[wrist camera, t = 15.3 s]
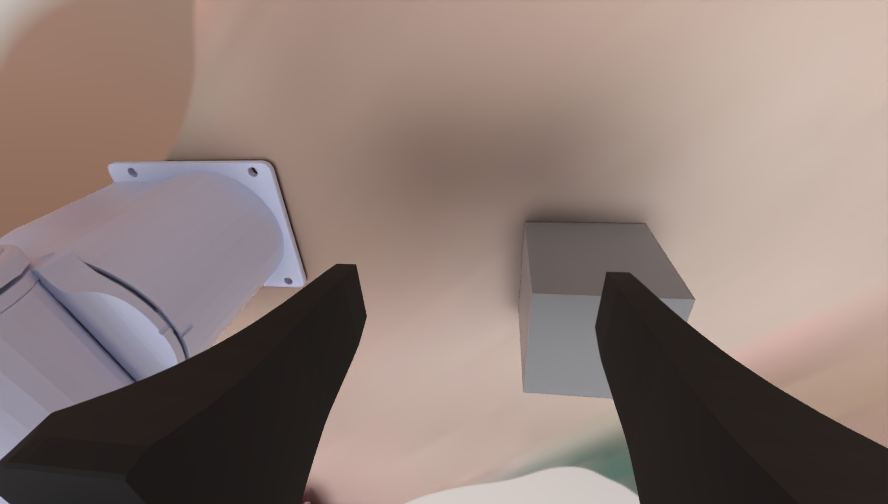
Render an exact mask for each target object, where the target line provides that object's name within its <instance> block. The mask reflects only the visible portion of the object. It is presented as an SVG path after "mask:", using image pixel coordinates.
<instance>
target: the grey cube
mask: <svg viewBox="0 0 888 504" xmlns="http://www.w3.org/2000/svg"><path fill="white" fill-rule="evenodd" d="M606 272H630V273H631V274H632V275H633V276H635V277H636V278H637V279H638V280H639V281H640V282H641V283H643V284H644V285H645V286H646V287H647V288H648V289H649V290H650V291H651V292H652V293H654V294H655V295H656V296H657V297H658V298H659V299H660V300H661V301H662V302H664V303H665V304H666V305H667V306H668V307H669V308H670V309H671V310H673V311H674V312H675V313H676V314H677V315H678V316H680V317H681V318H682V319H683V320H684V321H685V322H687V320H688V318H689V315H690V312H691V310H692V307H693V304H694V302H695V298H694V297H693V295H692V294H691V292H690V291H689V289H688V288H687V286H686V285H685V283H684V281H683V280H682V278H681V277H680V275H679V274H678V272H677V271H676V269H675V268H674V266H673V265H672V263H671V262H670V260H669V258H668V257H667V255H666V254H665V252H664V251H663V249H662V248H661V246H660V245H659V243H658V242H657V240H656V239H655V237H654V235H653V234H652V232H651V231H650V229H649V228H648V226H647V225H646V224H629V223H561V222H525V224H524V238H523V253H522V267H521V281H520V296H519V327H520V345H521V362H522V380H523V392H525V393H539V394H553V395H567V396H582V397H596V398H610V399H613V397H612V394H611V391H610V388H609V385H608V382H607V378H606V375H605V372H604V369H603V366H602V362H601V359H600V354H599V349H598V343H597V337H596V331H595V324H596V319H597V314H598V309H599V305H600V300H601V295H602V290H603V285H604V281H605V276H606Z"/></svg>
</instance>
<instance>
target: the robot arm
mask: <svg viewBox="0 0 888 504" xmlns="http://www.w3.org/2000/svg"><path fill="white" fill-rule="evenodd" d="M252 167H253V168H255V169H256V170H257V172H258V174H256V173H254V172H253V170H252ZM134 170H136V172H137V173H136V172H135V171H134ZM108 171H109V174H110V175H111V177H112V179H113V181H114V183H113V184H110V185H108V186H106V187H104V188H102V189H100V190H98V191H95V192H93V193H91V194H89V195H87V196H85V197H82V198H80V199H78V200H76V201H74V202H72V203H70V204H68V205H65V206H63V207H61V208H59V209H57V210H55V211H52V212H50V213H48V214H46V215H44V216H42V217H40V218H37V219H35V220H33V221H31V222H29V223H27V224H25V225H23V226H20V227H18V228H16V229H14V230H13V231H11V232H9V233H7V234H6V235H4V236H3V237H1V238H0V504H301V501H302V497H303V493H304V490H305V486H306V483H307V480H308V476H309V473H310V470H311V466H312V463H313V460H314V456H315V453H316V450H317V447H318V444H319V441H320V438H321V435H322V431H323V428H324V425H325V423H326V420H327V418H328V415H329V412H330V410H331V408H332V405H333V403H334V401H335V399H336V396H337V394H338V392H339V390H340V387H341V385H342V383H343V380H344V378H345V376H346V374H347V371H348V369H349V367H350V364H351V362H352V360H353V358H354V355H355V353H356V350H357V348H358V346H359V342H360V339H361V336H362V332H363V329H364V325H365V321H366V317H367V315H366V310H365V305H364V300H363V296H362V291H361V286H360V281H359V276H358V271H357V266H356V264H336V265H334V266H333V267H331V268H330V269H329V270H327V271H326V272H324V273H323V274H322V275H320V276H319V277H318V278H316V279H315V280H314V281H312V282H311V283H310V284H308V285H307V286H306V287H304V288H303V289H302V290H300V291H299V292H297V293H296V294H295V295H293V296H292V297H291V298H289V299H288V300H287V301H285V302H284V303H282V304H281V305H279V306H278V307H276V308H275V309H274V310H272V311H271V312H269V313H268V314H266V315H265V316H263V317H262V318H260V319H259V320H257V321H256V322H254V323H253V324H251V325H249V326H248V327H246V328H245V329H243V330H241V331H240V332H238V333H236V334H234V335H233V336H231V337H229V338H227V339H226V340H224V341H222V342H220V343H219V344H217V345H215V346H213V347H211V346H212V345H213V343H214V342H215V341H216V340H217V339H218V337H219V336H220V335H221V334H222V333H223V332H224V330H225V329H226V328H227V327H228V326H229V324H230V323H231V322H232V321H233V320H234V318H235V317H236V316H237V315H238V314H239V313H240V311H241V310H242V309H243V308H244V307H245V305H246V304H247V303H248V302H249V301H250V300H251V298H252V297H253V296H254V295H255V294H256V292H257V291H258V290H259V289H260V288H261V286H275V287H302V286H303V285H304V284H305V282H306V276H305V273H304V269H303V266H302V262H301V259H300V256H299V252H298V249H297V246H296V242H295V239H294V235H293V232H292V229H291V225H290V222H289V218H288V215H287V212H286V208H285V205H284V202H283V198H282V195H281V191H280V188H279V185H278V181H277V178H276V174H275V171H274V168H273V166H272V165H271V164H270V163H269V162H267V161H263V160H242V161H131V162H130V161H124V162H123V161H117V162H114V163H112V164H109V165H108ZM288 278H290V279H291V280H292V281H291V280H289V279H288ZM595 331H596V337H597V343H598V349H599V354H600V359H601V362H602V366H603V369H604V372H605V375H606V378H607V382H608V385H609V388H610V391H611V394H612V397H613V400H614V403H615V406H616V409H617V413H618V416H619V419H620V422H621V425H622V428H623V431H624V434H625V438H626V441H627V445H628V449H629V453H630V457H631V462H632V467H633V471H634V476H635V481H636V485H637V490H638V495H639V500H640V504H888V448H886V447H884V446H882V445H880V444H878V443H876V442H874V441H872V440H870V439H868V438H866V437H865V436H863V435H861V434H859V433H857V432H855V431H853V430H851V429H849V428H847V427H845V426H843V425H842V424H840V423H838V422H836V421H834V420H832V419H831V418H829V417H827V416H825V415H823V414H821V413H820V412H818V411H816V410H814V409H813V408H811V407H809V406H808V405H806V404H804V403H802V402H801V401H799V400H797V399H796V398H794V397H792V396H791V395H789V394H787V393H785V392H784V391H782V390H780V389H779V388H777V387H776V386H774V385H772V384H771V383H769V382H768V381H766V380H765V379H763V378H762V377H760V376H759V375H757V374H756V373H754V372H753V371H751V370H750V369H748V368H747V367H745V366H744V365H742V364H741V363H739V362H738V361H736V360H735V359H733V358H732V357H731V356H729V355H728V354H726V353H725V352H724V351H722V350H721V349H720V348H718V347H717V346H716V345H714V344H713V343H712V342H711V341H709V340H708V339H707V338H705V337H704V336H703V335H701V334H700V333H699V332H698V331H696V330H695V329H694V328H693V327H692V326H690V325H689V324H688V323H687V322H685V321H684V320H683V319H682V318H681V317H680V316H678V315H677V314H676V313H675V312H674V311H673V310H671V309H670V308H669V307H668V306H667V305H666V304H665V303H664V302H662V301H661V300H660V299H659V298H658V297H657V296H656V295H655V294H654V293H652V292H651V291H650V290H649V289H648V288H647V287H646V286H645V285H644V284H643V283H641V282H640V281H639V280H638V279H637V278H636V277H635V276H633V275H632V274H631V273H630V272H606V276H605V281H604V285H603V290H602V295H601V300H600V305H599V309H598V314H597V319H596V324H595ZM210 347H211V348H210Z"/></svg>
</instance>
